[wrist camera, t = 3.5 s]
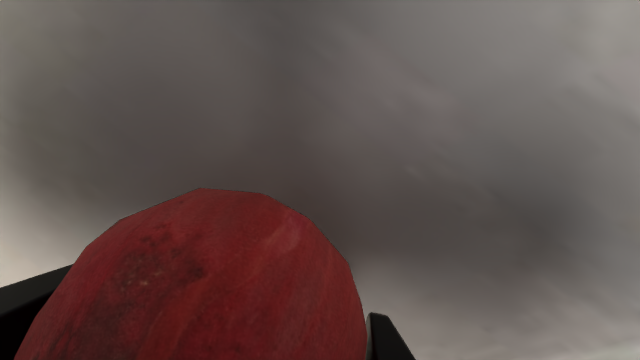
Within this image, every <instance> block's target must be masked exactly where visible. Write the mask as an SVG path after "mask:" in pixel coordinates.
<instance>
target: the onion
mask: <svg viewBox="0 0 640 360" xmlns="http://www.w3.org/2000/svg"><path fill="white" fill-rule="evenodd" d="M367 338H368V334H367V329H366V324H365V319H364V314H363V309H362V304H361V301H360V298H359V295H358V292H357V289H356V286H355V283H354V280H353V277H352V274H351V271H350V268H349V265H348V262H347V261H346V260H345V259H344V258H343V257H342V256H341V254H340V253H339V252H338V251H337V250H336V249H335V247H334V246H333V245H332V244H331V243H330V242H329V241H328V239H327V238H326V237H325V236H324V235H323V234H322V233H321V231H320V230H319V229H318V228H317V227H316V226H315V224H314V223H313V222H312V221H311V220H310V219H309V218H307V217H306V216H304V215H302V214H300V213H298V212H296V211H295V210H293V209H291V208H289V207H287V206H286V205H284V204H282V203H280V202H278V201H277V200H275V199H273V198H271V197H269V196H267V195H264V194H260V193H252V192H240V191H229V190H218V189H207V188H199V189H196V190H194V191H191V192H189V193H186V194H183V195H181V196H178V197H176V198H173V199H171V200H168V201H166V202H163V203H161V204H158V205H156V206H153V207H151V208H148V209H146V210H143V211H141V212H138V213H136V214H133V215H131V216H128V217H126V218H123V219H121V220H119V221H118V222H116V223H115V224H114V225H113V226H111V227H110V228H109V229H108V230H107V231H105V232H104V233H103V234H102V235H100V236H99V237H98V238H97V239H95V240H94V241H93V242H92V243H90V244H89V245H88V246H87V247H86V248H85V249H84V250H83V252H82V253H81V255H80V256H79V257H78V259H77V260H76V262H75V263H74V265H73V266H72V267H71V269H70V270H69V272H68V273H67V274H66V276H65V277H64V279H63V280H62V281H61V283H60V284H59V286H58V287H57V288H56V290H55V291H54V292H53V294H52V295H51V296H50V298H49V299H48V300H47V302H46V303H45V304H44V306H43V307H42V308H41V310H40V311H39V312H38V314H37V315H36V317H35V318H34V320H33V322H32V324H31V326H30V328H29V330H28V332H27V334H26V336H25V338H24V340H23V342H22V343H21V345H20V347H19V349H18V351H17V353H16V355H15V358H14V360H365V357H366V347H367Z"/></svg>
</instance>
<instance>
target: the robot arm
mask: <svg viewBox="0 0 640 360" xmlns="http://www.w3.org/2000/svg"><path fill="white" fill-rule="evenodd" d="M73 265H74V264H72V265H69V266H66V267H63V268H60V269H57V270H53V271H50V272H47V273H44V274H41V275H38V276H35V277H32V278H29V279H26V280H23V281H20V282H17V283H14V284H10V285H7V286H4V287H1V288H0V360H14V358H15V355H16V353H17V351H18V349H19V347H20V345H21V343H22V342H23V340H24V338H25V336H26V334H27V332H28V330H29V328H30V326H31V324H32V322H33V320H34V318H35V317H36V315H37V314H38V312H39V311H40V310H41V308H42V307H43V306H44V304H45V303H46V302H47V300H48V299H49V298H50V296H51V295H52V294H53V292H54V291H55V290H56V288H57V287H58V286H59V284H60V283H61V281H62V280H63V279H64V277H65V276H66V274H67V273H68V272H69V270H70V269H71V267H72V266H73ZM366 329H367V334H368V338H367V347H366V357H365V360H416V359H415V358H414V356H413V354H412V353H411V351H410V350H409V348H408V347H407V345H406V343H405V342H404V340H403V339H402V337H401V336H400V334H399V333H398V331H397V329H396V328H395V326H394V325H393V323H392V322H391V320H390V318H389V317H388V316H386V315H383V314H378V313H373V312H371V313H369V314H368V317H367V321H366Z"/></svg>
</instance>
